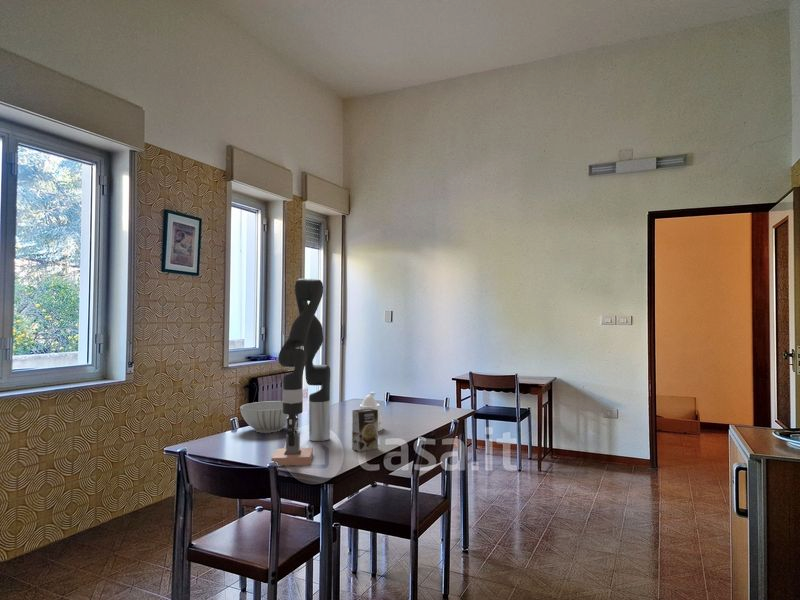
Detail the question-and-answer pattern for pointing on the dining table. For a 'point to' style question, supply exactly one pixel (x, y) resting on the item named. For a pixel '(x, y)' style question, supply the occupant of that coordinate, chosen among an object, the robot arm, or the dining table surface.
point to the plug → (293, 449)
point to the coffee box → (364, 429)
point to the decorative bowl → (265, 416)
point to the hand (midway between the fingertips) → (292, 443)
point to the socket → (293, 457)
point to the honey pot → (372, 407)
